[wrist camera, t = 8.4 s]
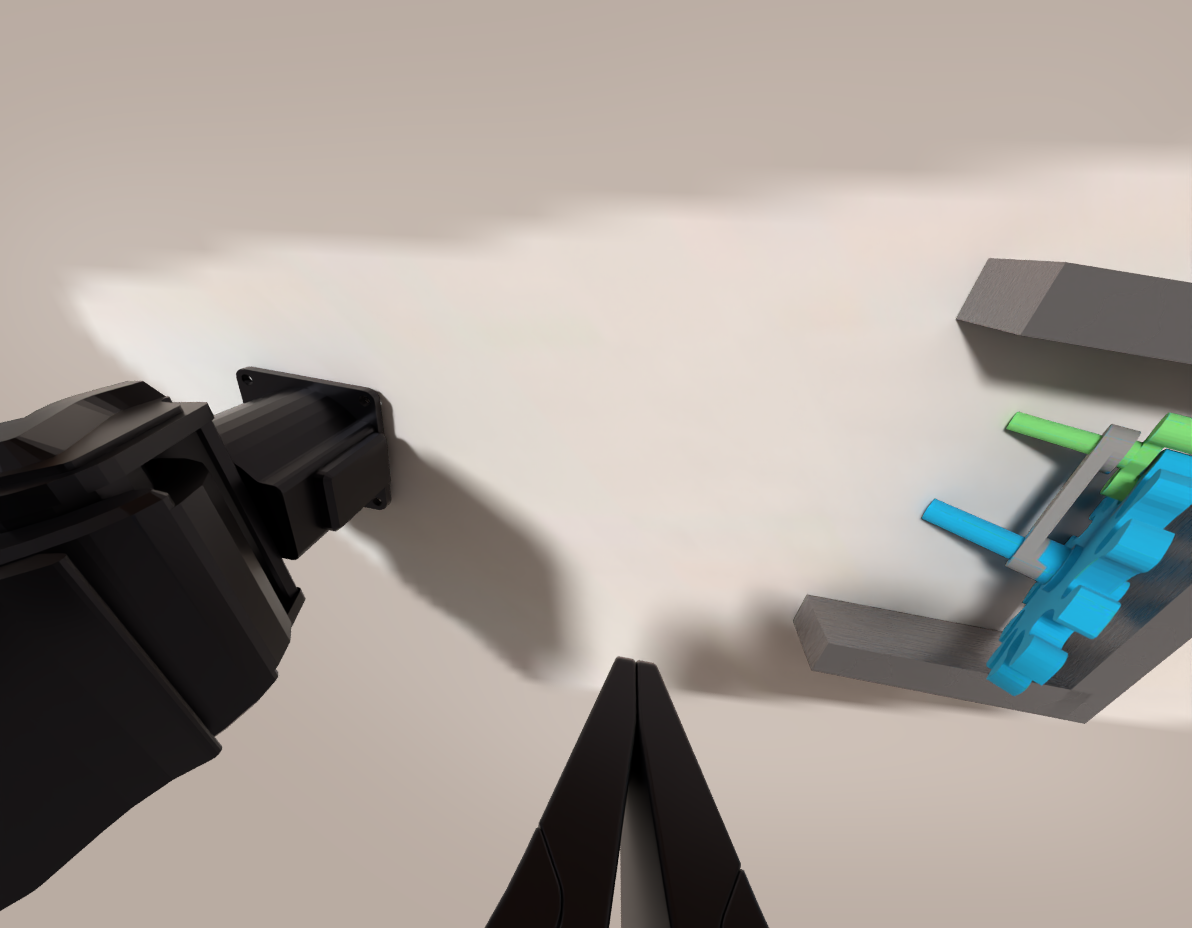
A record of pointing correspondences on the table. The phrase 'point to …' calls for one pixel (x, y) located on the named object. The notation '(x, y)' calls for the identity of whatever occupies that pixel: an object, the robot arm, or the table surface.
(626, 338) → the table surface
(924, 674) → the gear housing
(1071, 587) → the gear
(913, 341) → the table surface
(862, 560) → the table surface
